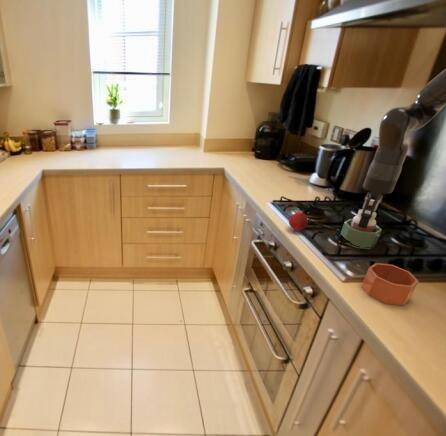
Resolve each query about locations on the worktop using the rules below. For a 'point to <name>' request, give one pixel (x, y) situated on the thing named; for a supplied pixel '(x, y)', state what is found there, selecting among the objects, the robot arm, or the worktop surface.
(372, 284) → the terracotta pot
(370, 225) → the pill bottle
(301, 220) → the onion
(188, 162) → the worktop surface
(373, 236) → the green pot
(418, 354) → the worktop surface
